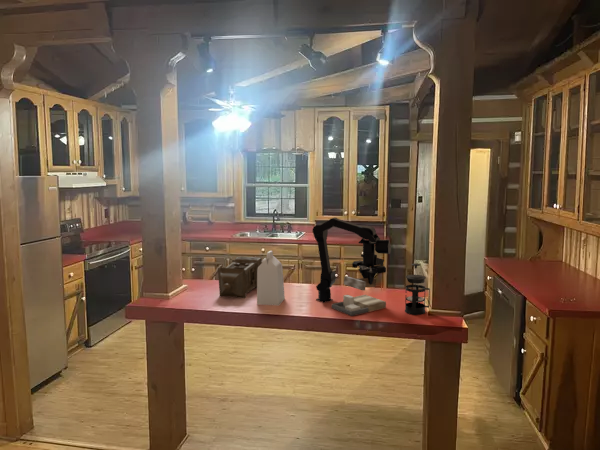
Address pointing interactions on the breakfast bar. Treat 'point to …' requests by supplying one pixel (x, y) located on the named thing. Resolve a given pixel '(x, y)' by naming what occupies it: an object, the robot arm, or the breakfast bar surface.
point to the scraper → (358, 282)
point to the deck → (369, 302)
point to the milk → (270, 281)
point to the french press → (416, 294)
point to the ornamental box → (238, 277)
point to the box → (341, 308)
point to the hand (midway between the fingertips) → (368, 283)
